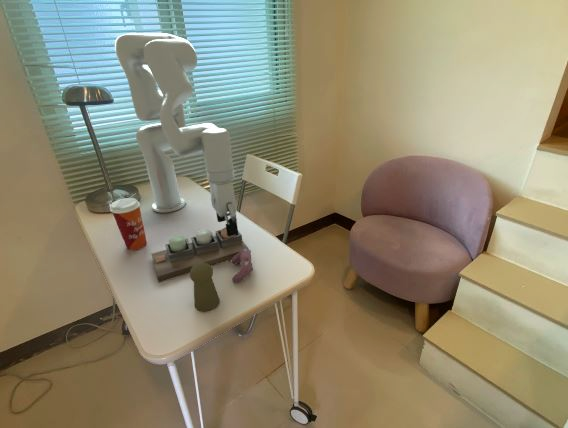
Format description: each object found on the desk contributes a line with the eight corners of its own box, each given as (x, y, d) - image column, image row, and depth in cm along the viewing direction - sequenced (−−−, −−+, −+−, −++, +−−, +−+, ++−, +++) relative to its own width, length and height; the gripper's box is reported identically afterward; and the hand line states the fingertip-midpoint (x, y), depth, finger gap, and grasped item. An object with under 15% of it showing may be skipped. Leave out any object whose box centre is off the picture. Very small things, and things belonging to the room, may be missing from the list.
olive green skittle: (218, 311, 74) (212, 274, 69) (192, 313, 74) (184, 276, 69) (220, 293, 80) (215, 258, 74) (196, 295, 79) (189, 259, 74)
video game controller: (247, 287, 84) (257, 266, 81) (230, 283, 82) (240, 262, 80) (244, 265, 92) (253, 246, 90) (229, 261, 91) (238, 241, 88)
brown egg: (220, 237, 99) (218, 229, 97) (233, 233, 100) (232, 225, 99) (224, 244, 95) (223, 235, 94) (238, 240, 97) (237, 231, 95)
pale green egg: (169, 246, 92) (167, 238, 91) (184, 242, 94) (183, 234, 92) (172, 254, 88) (170, 245, 87) (188, 249, 90) (186, 241, 89)
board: (152, 259, 94) (149, 246, 91) (235, 235, 104) (234, 224, 102) (158, 282, 84) (154, 269, 82) (249, 254, 94) (247, 241, 92)
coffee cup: (140, 253, 97) (127, 209, 90) (117, 250, 98) (102, 208, 91) (155, 238, 104) (144, 197, 97) (133, 236, 105) (121, 195, 98)
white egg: (195, 239, 95) (193, 231, 93) (209, 235, 97) (208, 227, 95) (198, 246, 91) (197, 238, 90) (213, 242, 93) (212, 234, 92)
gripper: (199, 167, 93) (207, 218, 101) (216, 187, 79) (224, 244, 87) (223, 163, 96) (230, 213, 104) (244, 181, 82) (249, 237, 90)
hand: (227, 227), depth 96 cm, fingers open, 9 cm apart
